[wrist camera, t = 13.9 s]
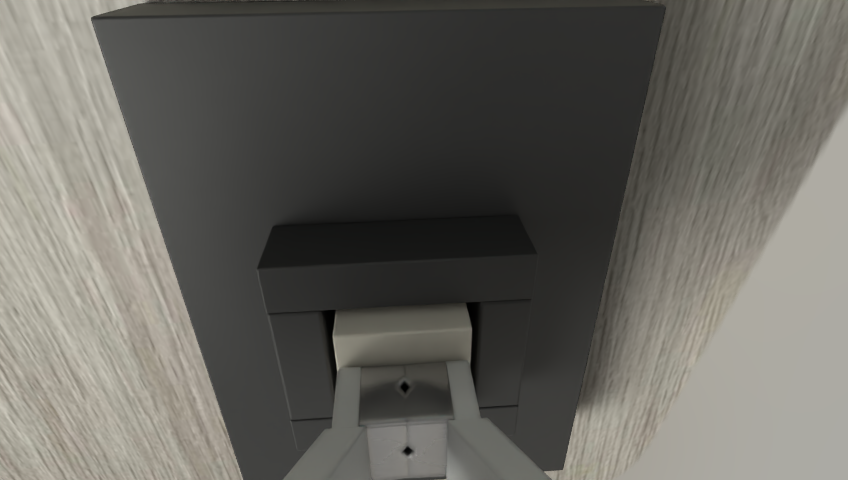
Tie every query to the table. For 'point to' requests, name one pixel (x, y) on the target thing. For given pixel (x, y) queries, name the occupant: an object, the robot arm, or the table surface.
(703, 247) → the table surface
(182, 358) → the table surface
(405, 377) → the robot arm
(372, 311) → the push button
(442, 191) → the button base
